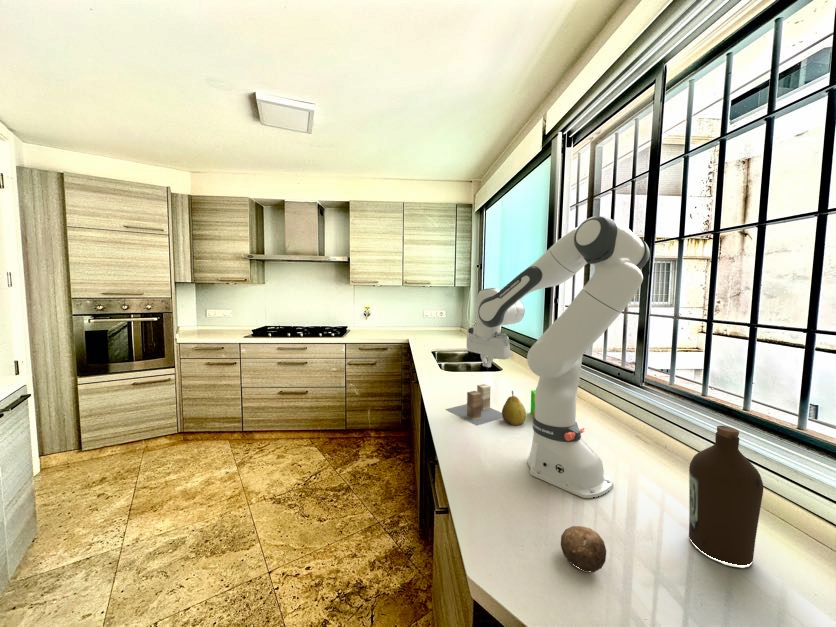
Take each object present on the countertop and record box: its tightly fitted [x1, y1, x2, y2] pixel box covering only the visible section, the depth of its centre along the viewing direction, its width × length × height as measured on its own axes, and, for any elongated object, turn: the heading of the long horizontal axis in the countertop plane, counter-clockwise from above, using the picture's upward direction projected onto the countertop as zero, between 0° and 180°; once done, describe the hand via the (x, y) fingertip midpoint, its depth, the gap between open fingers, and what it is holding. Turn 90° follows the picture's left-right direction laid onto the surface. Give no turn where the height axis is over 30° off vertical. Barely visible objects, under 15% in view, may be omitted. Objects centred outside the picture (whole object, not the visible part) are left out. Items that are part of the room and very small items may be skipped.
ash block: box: [476, 383, 491, 411], centre depth 142 cm, size 4×4×10 cm
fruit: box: [501, 390, 527, 426], centre depth 127 cm, size 9×9×12 cm
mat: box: [445, 403, 503, 426], centre depth 137 cm, size 20×18×1 cm
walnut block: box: [466, 390, 481, 419], centre depth 132 cm, size 4×4×10 cm
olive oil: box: [688, 425, 764, 565], centre depth 64 cm, size 11×11×25 cm
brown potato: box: [560, 525, 607, 573], centre depth 63 cm, size 8×8×6 cm
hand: (486, 366), depth 125 cm, fingers closed
